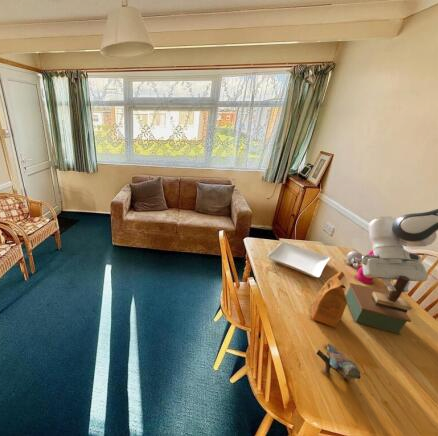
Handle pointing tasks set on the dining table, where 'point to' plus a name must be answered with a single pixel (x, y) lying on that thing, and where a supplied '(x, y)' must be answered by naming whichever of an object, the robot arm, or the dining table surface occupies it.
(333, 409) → the dining table surface
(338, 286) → the coffee package
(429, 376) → the dining table surface
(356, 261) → the round bodied animal figurine
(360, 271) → the pepper mill
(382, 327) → the cabinet
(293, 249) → the square plate
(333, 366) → the bird figurine
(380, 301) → the brush
